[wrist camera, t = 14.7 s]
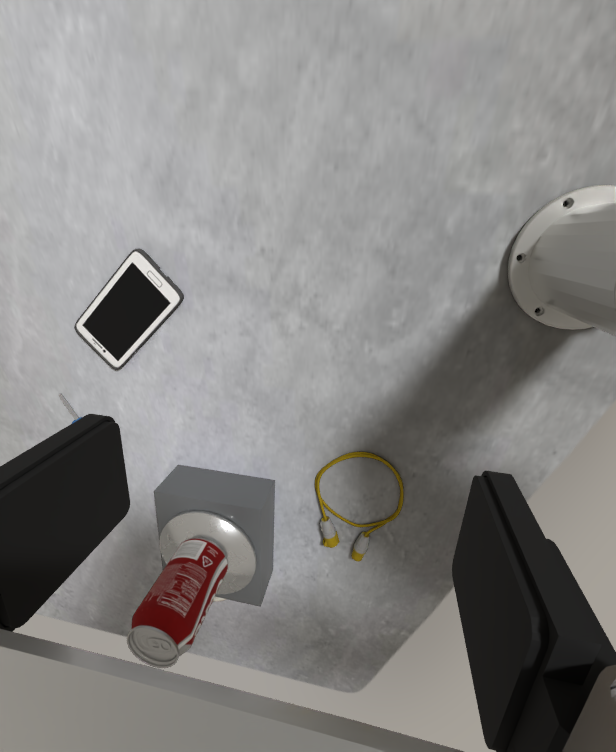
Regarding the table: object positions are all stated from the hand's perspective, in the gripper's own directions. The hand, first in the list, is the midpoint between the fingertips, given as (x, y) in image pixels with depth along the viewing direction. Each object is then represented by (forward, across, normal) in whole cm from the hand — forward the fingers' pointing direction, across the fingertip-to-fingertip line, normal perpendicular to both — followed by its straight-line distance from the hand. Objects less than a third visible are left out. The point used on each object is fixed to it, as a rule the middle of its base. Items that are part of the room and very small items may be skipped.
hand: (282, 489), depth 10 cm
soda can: (+27, +16, +33) cm, 45 cm away
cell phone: (+34, +28, +4) cm, 44 cm away
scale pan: (+27, +16, +33) cm, 46 cm away
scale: (+33, +16, +33) cm, 50 cm away
